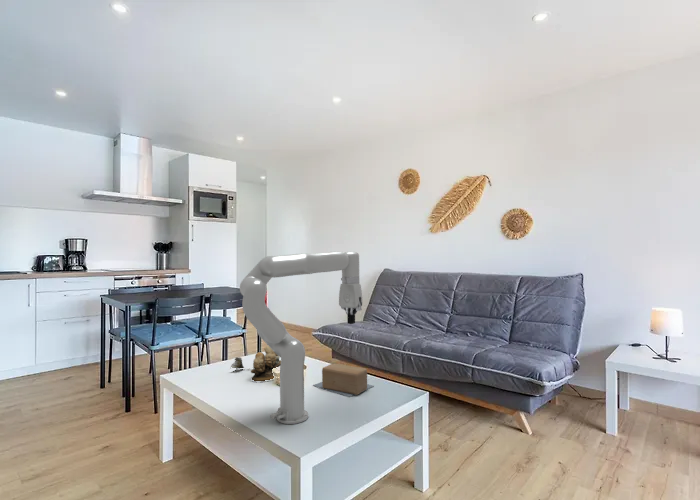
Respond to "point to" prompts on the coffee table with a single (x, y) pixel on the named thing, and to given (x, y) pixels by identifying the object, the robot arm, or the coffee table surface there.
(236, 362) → the artificial flower
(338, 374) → the wooden block
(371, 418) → the coffee table surface
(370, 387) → the mat
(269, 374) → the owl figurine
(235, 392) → the coffee table surface
